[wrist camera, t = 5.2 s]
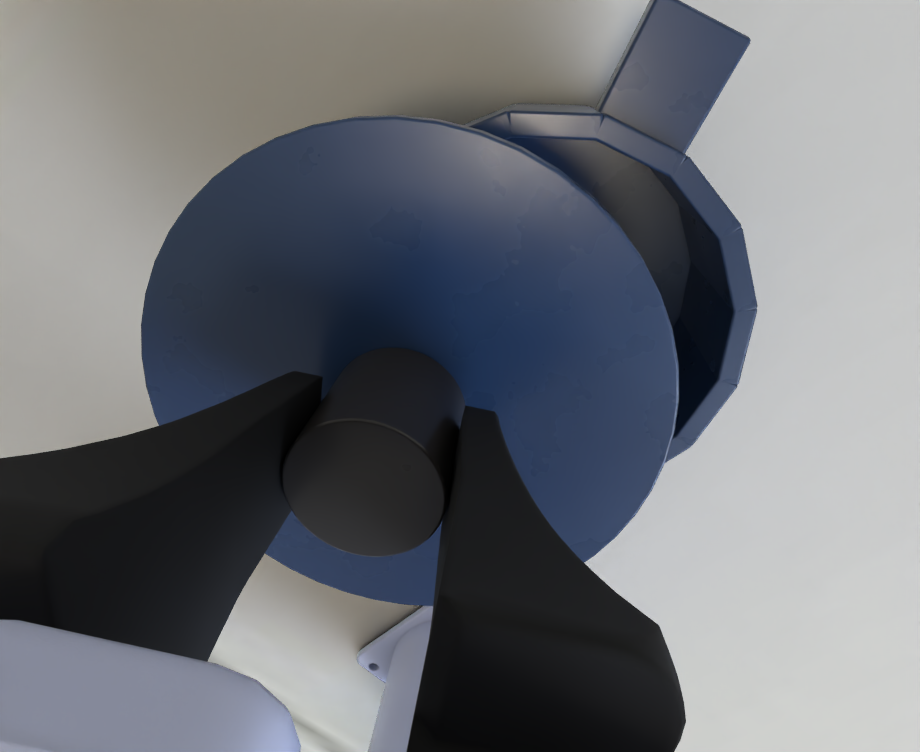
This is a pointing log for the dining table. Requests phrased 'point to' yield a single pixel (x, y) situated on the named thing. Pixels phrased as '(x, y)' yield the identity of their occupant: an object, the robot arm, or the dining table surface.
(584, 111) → the pot
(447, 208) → the lid
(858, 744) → the dining table surface
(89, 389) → the dining table surface
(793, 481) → the dining table surface
